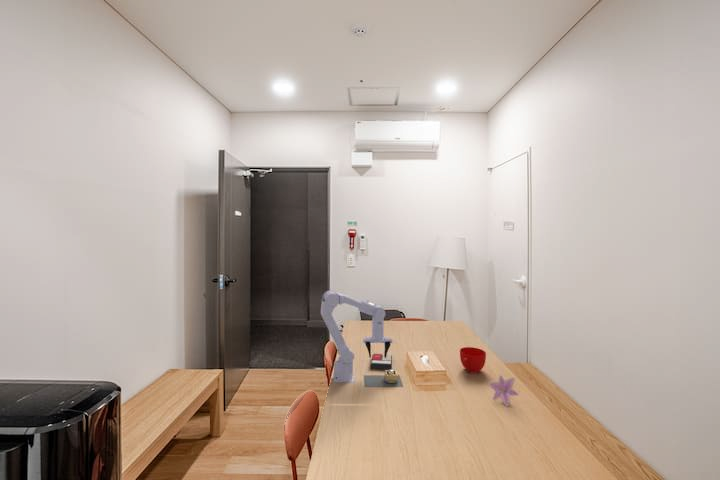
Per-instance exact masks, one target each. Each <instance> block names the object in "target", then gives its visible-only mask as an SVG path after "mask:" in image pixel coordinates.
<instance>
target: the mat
mask: <svg viewBox="0 0 720 480" xmlns="http://www.w3.org/2000/svg"><path fill="white" fill-rule="evenodd" d="M384 378H385V374H382V375H381V374H379V375H377V374H376V375H372V374H370V375H369V374H368V375H367V374H366V375H363V383H364V388H403V387H404V385H403V381H402V379H401V375H400V374H398V382H397V383H395V384H388V383H386V382H385V381H384Z"/></svg>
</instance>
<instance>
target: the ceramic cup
mask: <svg viewBox="0 0 720 480" xmlns="http://www.w3.org/2000/svg"><path fill="white" fill-rule="evenodd" d="M459 358H460V362H461V365H462V366H463V367H462V368H464V369H465V370H466V371H467V373H470V374H471V373H472V374H478V373H480V371H482V369H483V368H484V367H485V365H486V360H487V359H486V358H487V352H486V351H485V350H483V349H480V348H478V347H474V346H473V347H471V346H469V347H467V346H466V347H461V348H460V349H459Z"/></svg>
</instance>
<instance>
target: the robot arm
mask: <svg viewBox="0 0 720 480" xmlns="http://www.w3.org/2000/svg"><path fill="white" fill-rule="evenodd" d="M321 297H322V298H321V305H320V315H321V318H322V320H323V321H324V323H325V326H326V328H327V330H328V332H329V334H330V336H331V338H332V339H333V342H334V343H335V346H336V349H337V354H338V356H339V357H338V359H337V360H335V361H334V362H333V373H332V375H333V383H354V381H355V380H354V379H355V377H354V373H353V372H354V359H355V355H354V352H353V351H352V349H350V348H351V347H349V345H348V344H347V342H346V341H345V339H344V336H343V335H342V332H341V331H340V329H339V326H338V325H337V323H336V320H335V318H334V317H333V312H334V309H335V308H336V307H337V306H338V305H343V304H347V305H349V306H353V307H355V308H358V309H357V310H358V311H359V312H361V313H364V314H367V315H369V316H372V322H371V323H372V324H371V329H372V331H371V333H372V334H371V335H372V336H371V337H363V338H362V342H363V344H365V347H366V349H367V352H368V358H370V359H372V353H371V350H372V349H371V348H372V347H371V344H372V343H377V344H380V343H381V344H384V353H383V354H384V357H385V358H386V355H387V354H388V352H389V350H390V347H391V344H393V338H392V337H385V335H384V334H385V332H384V330H385V329H384V328H385V327H384V326H385V321H384V318H385V317H386V313H387V312H385V309H384V308H383V307H381V305H378V304H377V303H372V302H370V301H369V299H365V300H364V299H363V300H361V301H359V300H357V299H356V298H353V297H351V296H349V295H346V294H343V293H341V292H339V291H338V292H337V291H333V290H327V291H325V292H324V293H323V295H322V296H321Z"/></svg>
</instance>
